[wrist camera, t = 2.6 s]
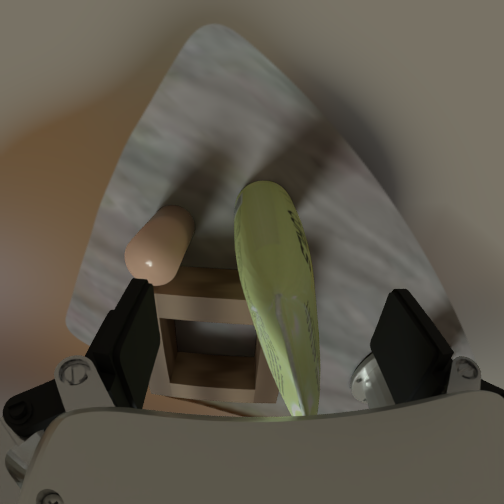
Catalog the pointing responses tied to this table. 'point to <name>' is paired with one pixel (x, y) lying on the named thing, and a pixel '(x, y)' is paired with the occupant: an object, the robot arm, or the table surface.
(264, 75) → the table surface
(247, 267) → the tube
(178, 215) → the short stub
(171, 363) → the square wooden frame
